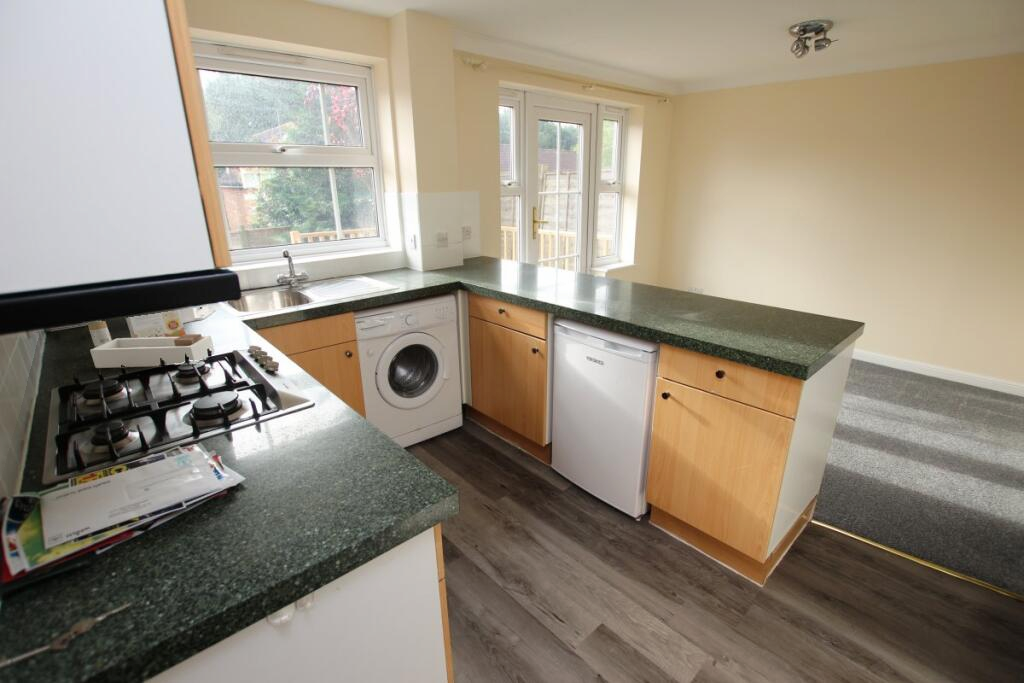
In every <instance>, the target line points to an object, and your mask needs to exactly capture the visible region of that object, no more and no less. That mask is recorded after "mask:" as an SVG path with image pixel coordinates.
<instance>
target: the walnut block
mask: <svg viewBox="0 0 1024 683" xmlns="http://www.w3.org/2000/svg"><path fill="white" fill-rule="evenodd" d="M202 336H203V335H202V333H201V334H200V333H195V334H194V333H193V334H186V335H182V336H180V337H179V338H177V339H175V340H174V343H175V346H191V345H192V344H194V343H196V342H198V341H199V340H201V339H202Z"/></svg>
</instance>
